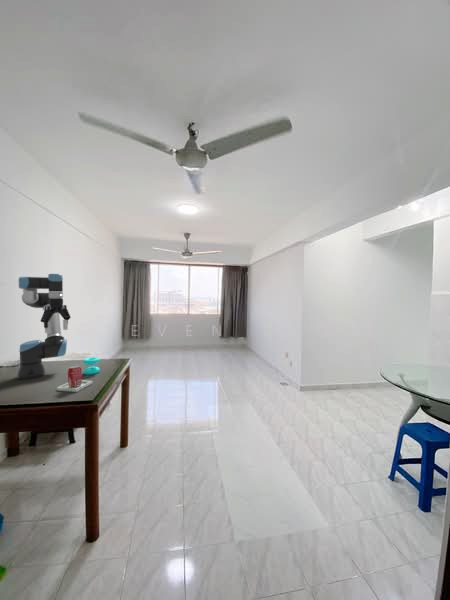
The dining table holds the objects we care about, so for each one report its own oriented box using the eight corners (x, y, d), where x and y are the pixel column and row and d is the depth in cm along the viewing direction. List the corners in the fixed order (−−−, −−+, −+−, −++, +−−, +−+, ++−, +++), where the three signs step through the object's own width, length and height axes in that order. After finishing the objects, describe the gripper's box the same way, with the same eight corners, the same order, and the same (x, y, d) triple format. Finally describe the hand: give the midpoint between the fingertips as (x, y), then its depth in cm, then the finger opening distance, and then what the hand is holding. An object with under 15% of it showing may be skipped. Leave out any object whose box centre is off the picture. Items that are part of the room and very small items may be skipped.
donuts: (80, 360, 171) (89, 356, 181) (80, 374, 171) (89, 370, 181) (93, 360, 170) (102, 357, 180) (94, 375, 170) (102, 370, 180)
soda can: (72, 384, 153) (71, 364, 152) (84, 383, 153) (83, 364, 153) (65, 388, 146) (65, 368, 145) (78, 388, 146) (77, 368, 146)
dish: (56, 390, 144) (56, 387, 144) (74, 382, 157) (74, 379, 157) (76, 392, 142) (76, 389, 142) (92, 383, 155) (92, 381, 155)
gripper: (43, 298, 146) (44, 334, 147) (76, 297, 171) (76, 328, 172) (32, 298, 148) (33, 334, 148) (66, 297, 172) (67, 328, 173)
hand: (56, 331), depth 160 cm, fingers open, 13 cm apart
